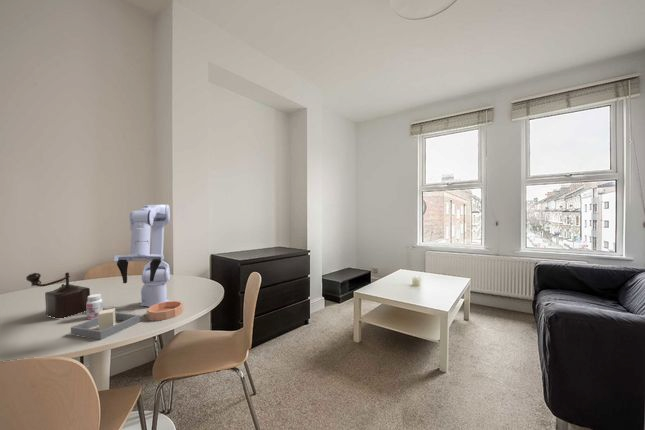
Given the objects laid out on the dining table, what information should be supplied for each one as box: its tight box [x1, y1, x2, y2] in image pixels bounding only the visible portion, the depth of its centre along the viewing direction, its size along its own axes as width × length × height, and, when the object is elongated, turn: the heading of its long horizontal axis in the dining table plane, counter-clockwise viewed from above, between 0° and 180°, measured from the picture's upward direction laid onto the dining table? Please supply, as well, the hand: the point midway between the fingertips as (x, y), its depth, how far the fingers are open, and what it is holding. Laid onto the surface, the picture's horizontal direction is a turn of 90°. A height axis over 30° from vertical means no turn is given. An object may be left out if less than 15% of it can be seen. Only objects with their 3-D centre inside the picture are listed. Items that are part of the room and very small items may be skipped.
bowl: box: [146, 300, 184, 321], centre depth 105 cm, size 12×12×3 cm
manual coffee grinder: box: [25, 272, 91, 319], centre depth 105 cm, size 16×11×18 cm
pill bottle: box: [86, 293, 104, 320], centre depth 103 cm, size 5×5×8 cm
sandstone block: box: [97, 307, 117, 331], centre depth 93 cm, size 4×4×6 cm
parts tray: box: [70, 311, 141, 340], centre depth 93 cm, size 14×14×2 cm
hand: (138, 282), depth 91 cm, fingers open, 7 cm apart
